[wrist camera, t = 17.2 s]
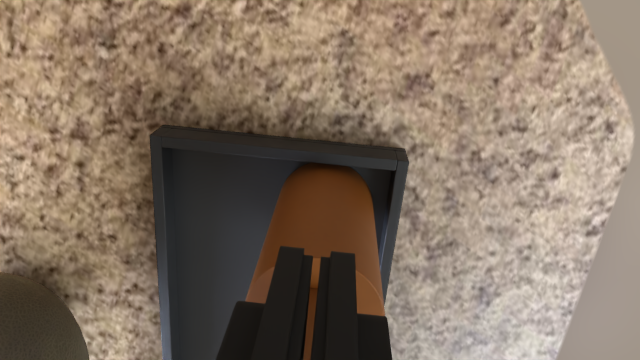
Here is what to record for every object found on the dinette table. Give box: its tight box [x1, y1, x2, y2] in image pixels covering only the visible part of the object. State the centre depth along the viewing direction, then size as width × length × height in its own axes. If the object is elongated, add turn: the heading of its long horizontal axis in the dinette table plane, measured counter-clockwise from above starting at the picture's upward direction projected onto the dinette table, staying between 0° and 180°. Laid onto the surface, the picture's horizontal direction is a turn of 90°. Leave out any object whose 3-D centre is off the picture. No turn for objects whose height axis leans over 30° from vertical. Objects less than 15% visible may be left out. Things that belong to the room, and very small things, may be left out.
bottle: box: [245, 162, 385, 360], centre depth 27 cm, size 7×7×18 cm
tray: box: [150, 125, 409, 360], centre depth 40 cm, size 18×35×3 cm, turn 175°
